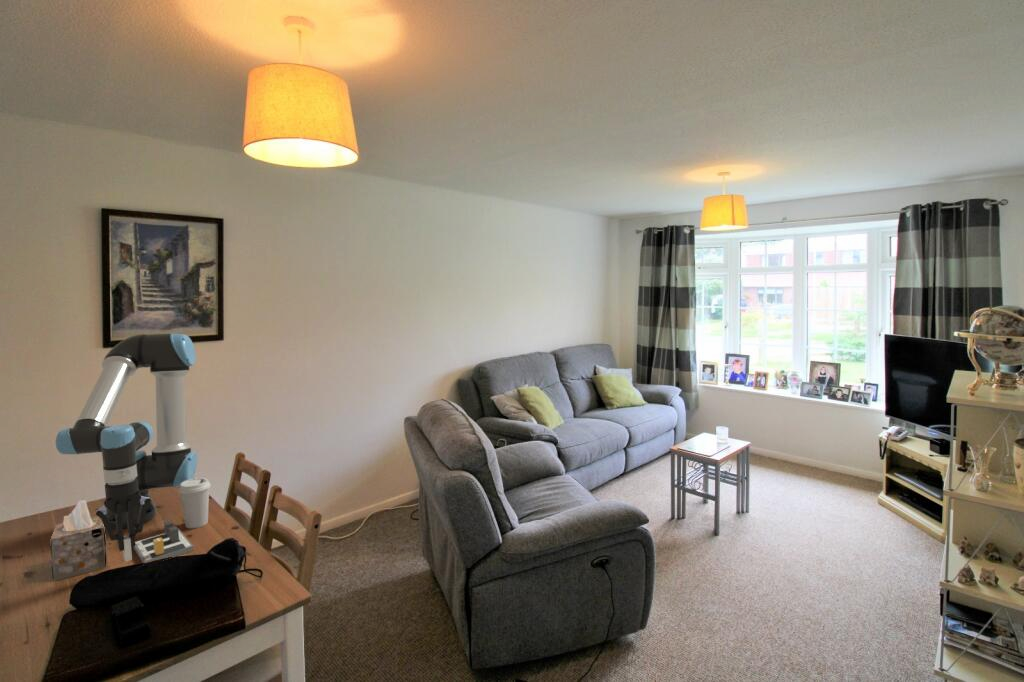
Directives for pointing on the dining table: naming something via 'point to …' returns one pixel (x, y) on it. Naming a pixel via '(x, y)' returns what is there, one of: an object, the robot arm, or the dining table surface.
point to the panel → (172, 544)
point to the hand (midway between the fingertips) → (127, 558)
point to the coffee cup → (195, 501)
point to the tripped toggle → (158, 546)
